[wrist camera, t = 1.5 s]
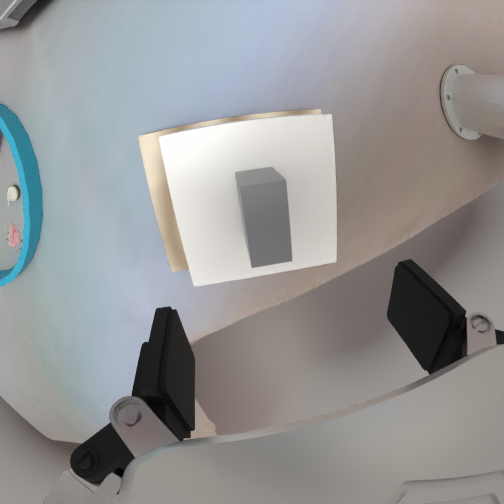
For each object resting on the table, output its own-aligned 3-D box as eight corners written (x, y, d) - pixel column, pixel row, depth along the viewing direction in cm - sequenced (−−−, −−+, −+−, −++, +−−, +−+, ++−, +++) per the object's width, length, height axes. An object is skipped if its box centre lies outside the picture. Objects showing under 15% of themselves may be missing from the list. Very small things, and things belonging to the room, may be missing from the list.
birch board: (314, 109, 29) (320, 109, 27) (322, 239, 37) (327, 245, 35) (142, 135, 28) (138, 136, 26) (174, 264, 36) (172, 271, 34)
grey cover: (303, 114, 27) (359, 115, 16) (312, 230, 34) (357, 290, 22) (174, 132, 27) (142, 142, 15) (198, 249, 33) (190, 321, 22)
